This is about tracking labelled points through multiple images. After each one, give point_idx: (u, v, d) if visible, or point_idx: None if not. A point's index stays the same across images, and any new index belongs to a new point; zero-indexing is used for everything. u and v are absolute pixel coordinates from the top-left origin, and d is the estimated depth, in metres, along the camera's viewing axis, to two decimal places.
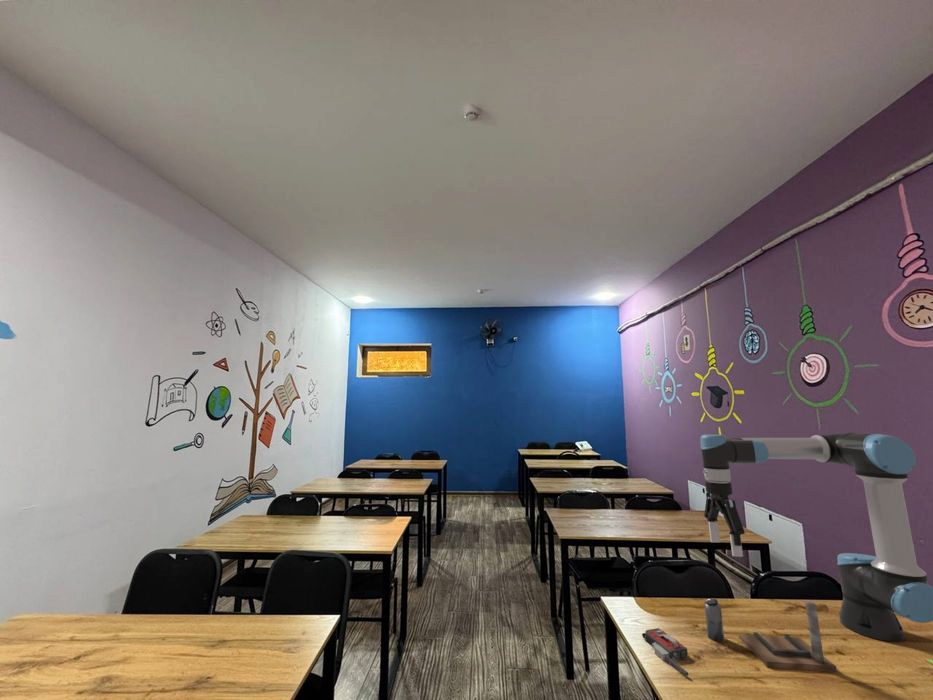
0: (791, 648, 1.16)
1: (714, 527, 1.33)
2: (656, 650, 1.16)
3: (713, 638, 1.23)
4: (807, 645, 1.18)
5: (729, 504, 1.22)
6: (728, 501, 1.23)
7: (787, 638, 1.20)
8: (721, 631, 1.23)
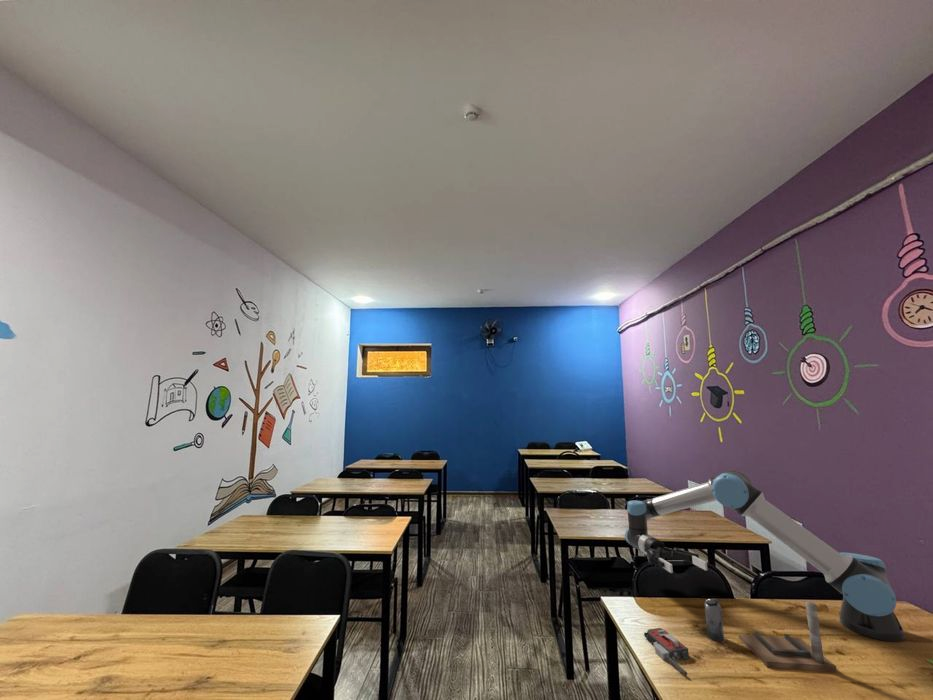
0: (791, 648, 1.16)
1: (695, 561, 1.43)
2: (656, 649, 1.17)
3: (713, 638, 1.23)
4: (807, 645, 1.18)
5: (645, 554, 1.51)
6: (645, 554, 1.52)
7: (787, 638, 1.20)
8: (721, 631, 1.23)
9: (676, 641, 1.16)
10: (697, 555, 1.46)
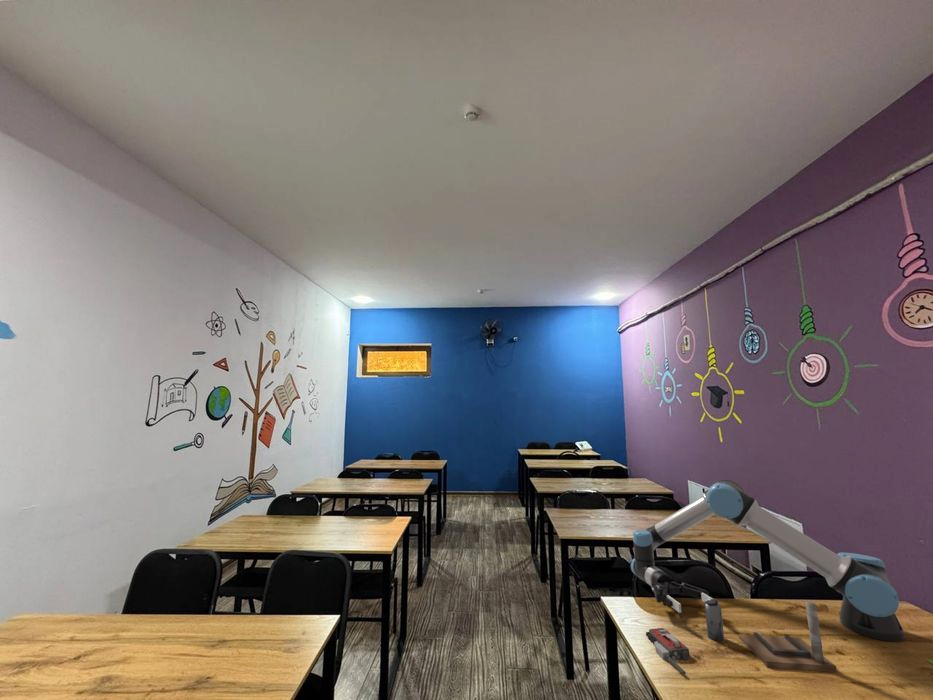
0: (791, 648, 1.16)
1: (704, 598, 1.38)
2: (657, 648, 1.17)
3: (713, 638, 1.23)
4: (807, 645, 1.18)
5: (652, 590, 1.46)
6: (652, 589, 1.47)
7: (787, 638, 1.20)
8: (721, 631, 1.23)
9: (677, 641, 1.16)
10: (706, 591, 1.41)
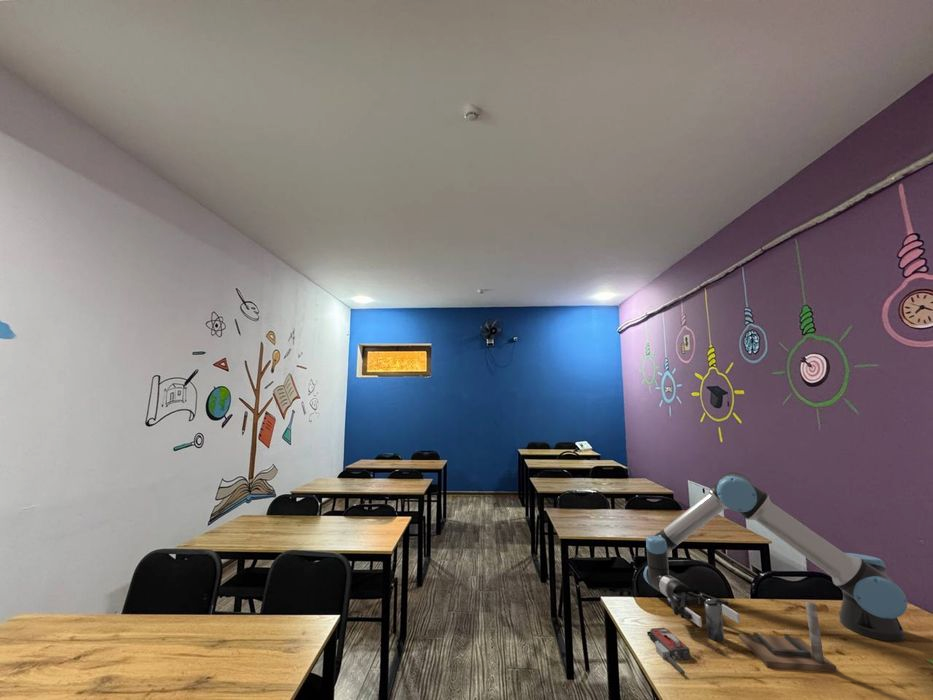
0: (791, 648, 1.16)
1: (725, 611, 1.29)
2: (657, 648, 1.17)
3: (713, 638, 1.23)
4: (807, 645, 1.18)
5: (669, 601, 1.37)
6: (668, 600, 1.38)
7: (787, 638, 1.20)
8: (721, 631, 1.23)
9: (677, 641, 1.17)
10: (727, 603, 1.32)
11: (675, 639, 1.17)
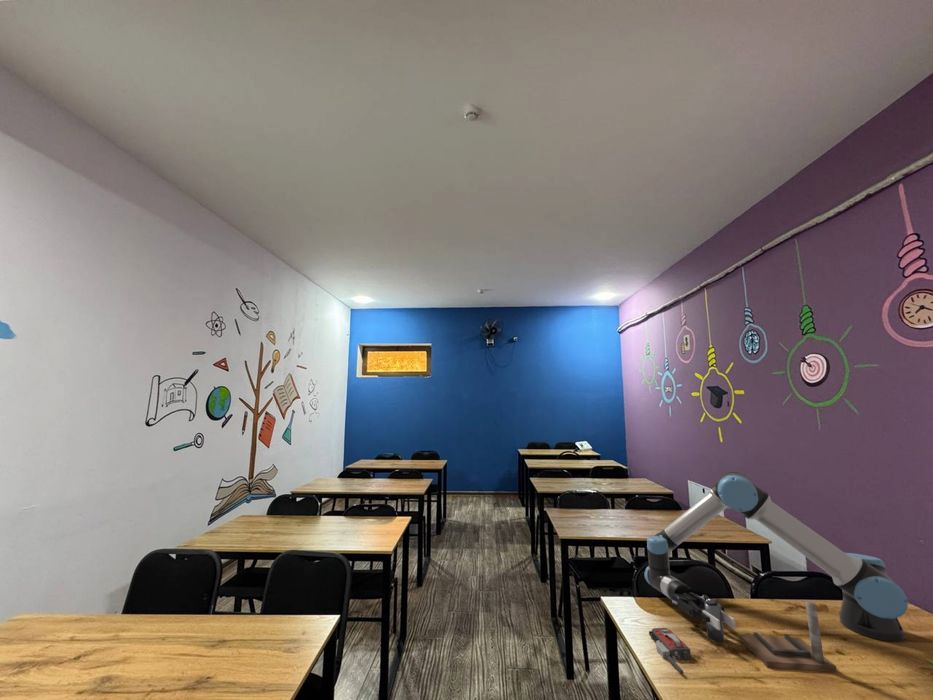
0: (791, 648, 1.16)
1: None
2: (657, 647, 1.18)
3: (713, 638, 1.23)
4: (807, 645, 1.18)
5: (674, 603, 1.35)
6: None
7: (787, 638, 1.20)
8: (721, 631, 1.23)
9: (678, 641, 1.17)
10: (721, 607, 1.29)
11: (676, 639, 1.17)
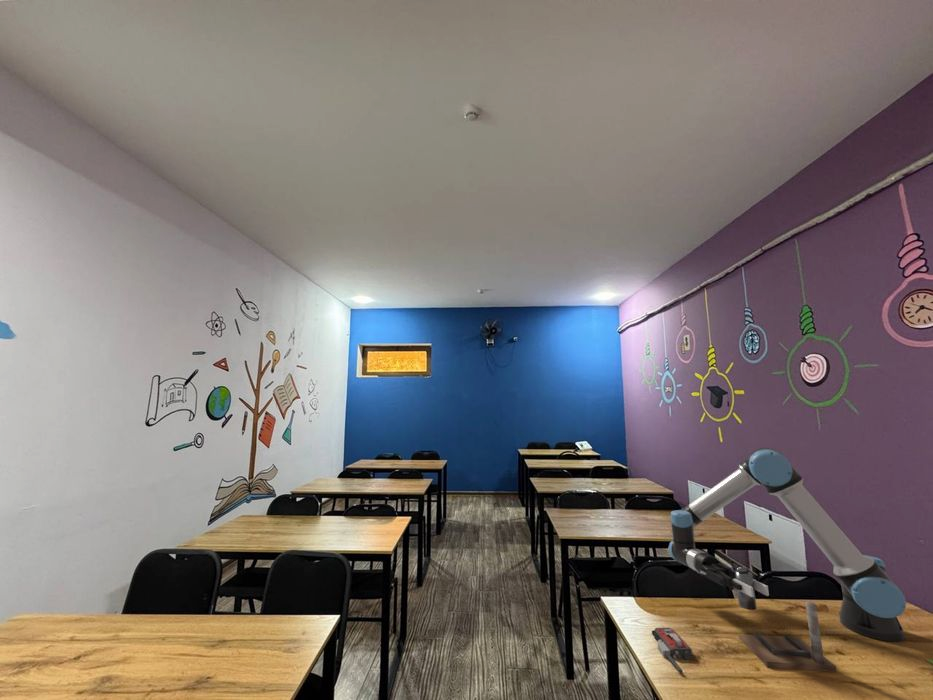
0: (791, 648, 1.16)
1: None
2: (659, 646, 1.18)
3: (745, 606, 1.21)
4: (807, 645, 1.18)
5: (703, 574, 1.33)
6: (701, 573, 1.33)
7: (787, 638, 1.20)
8: (753, 599, 1.21)
9: (679, 641, 1.17)
10: None
11: (677, 639, 1.17)
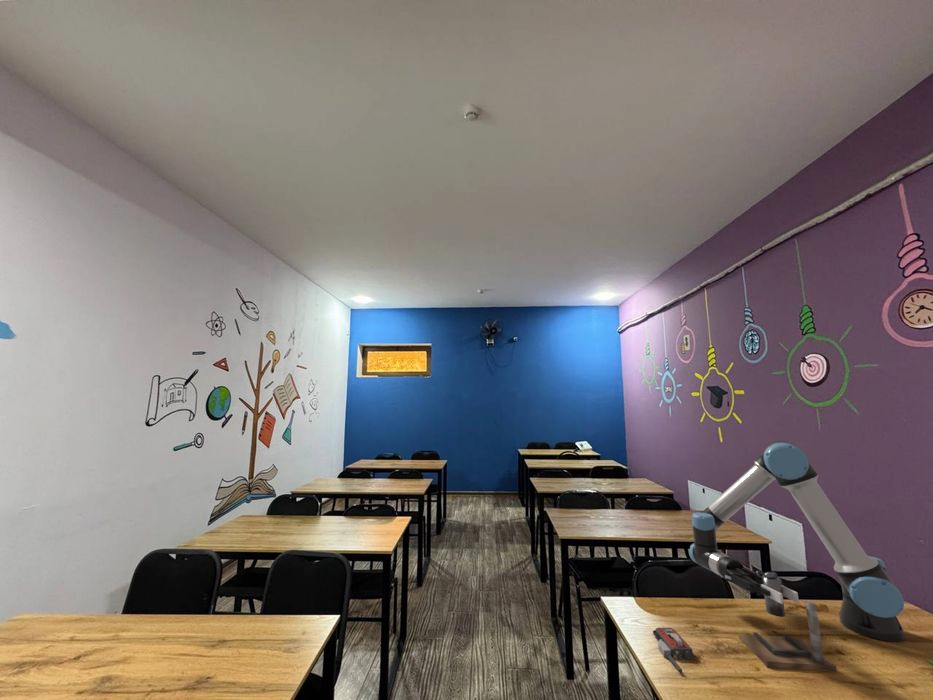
0: (791, 648, 1.16)
1: None
2: (659, 646, 1.18)
3: (773, 613, 1.18)
4: (807, 645, 1.18)
5: (728, 579, 1.29)
6: (726, 578, 1.30)
7: (787, 638, 1.20)
8: (782, 605, 1.18)
9: (680, 640, 1.17)
10: None
11: (678, 639, 1.17)
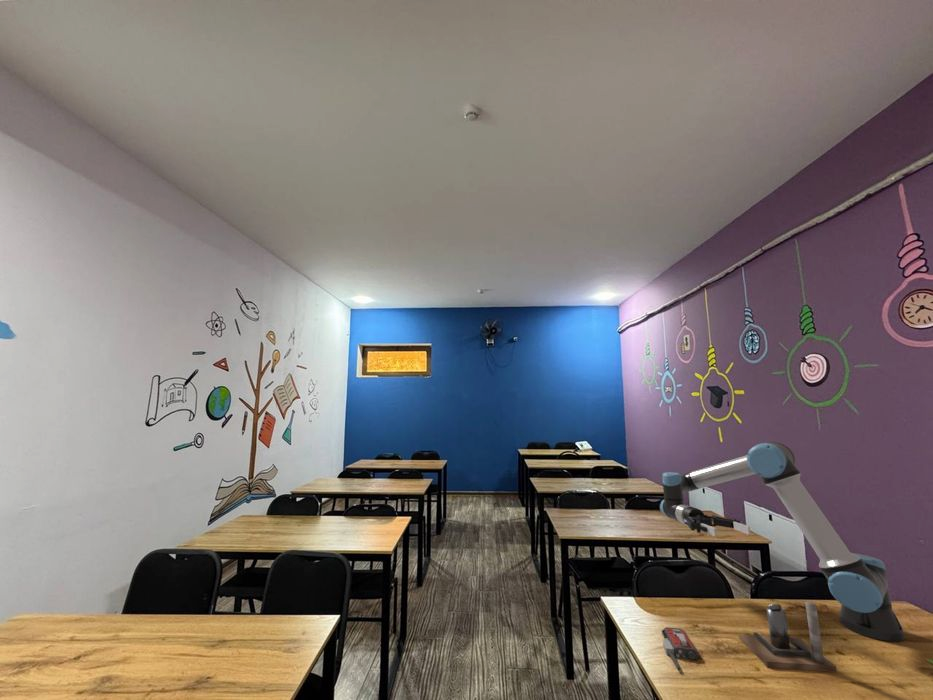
0: (791, 648, 1.16)
1: (737, 526, 1.43)
2: (663, 644, 1.19)
3: (778, 646, 1.16)
4: (807, 645, 1.18)
5: (685, 522, 1.52)
6: (684, 521, 1.52)
7: None
8: (787, 638, 1.16)
9: (684, 641, 1.17)
10: (738, 521, 1.46)
11: (683, 639, 1.17)
